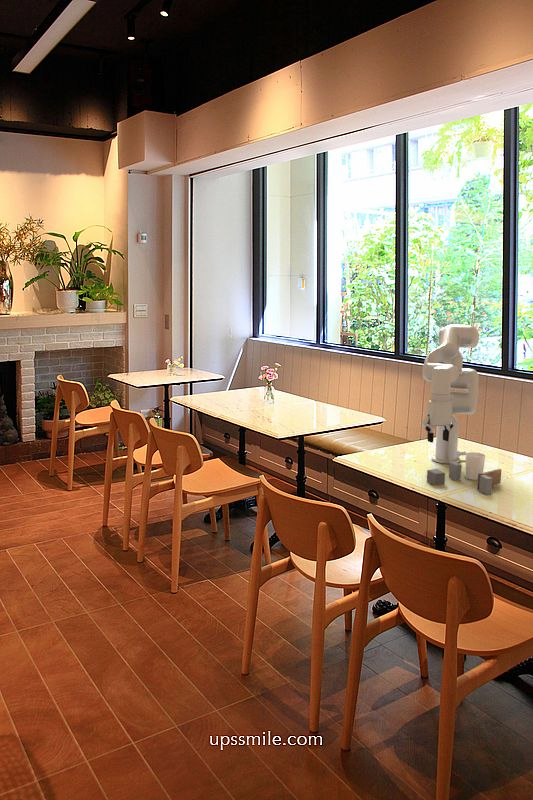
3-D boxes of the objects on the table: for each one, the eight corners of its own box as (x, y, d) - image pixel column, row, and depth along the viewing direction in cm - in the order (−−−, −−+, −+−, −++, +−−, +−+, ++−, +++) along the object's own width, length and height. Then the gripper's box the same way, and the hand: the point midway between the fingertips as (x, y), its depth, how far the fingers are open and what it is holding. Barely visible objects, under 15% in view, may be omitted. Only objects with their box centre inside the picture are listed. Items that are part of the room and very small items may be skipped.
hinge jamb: (483, 490, 296) (485, 474, 295) (491, 494, 292) (492, 478, 290) (478, 491, 295) (479, 475, 294) (486, 494, 291) (487, 478, 290)
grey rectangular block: (436, 480, 309) (436, 468, 308) (444, 484, 304) (445, 472, 303) (426, 481, 308) (427, 469, 307) (434, 485, 302) (435, 473, 301)
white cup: (461, 475, 317) (463, 452, 315) (479, 474, 318) (481, 452, 316) (468, 480, 309) (469, 457, 307) (486, 480, 310) (488, 457, 308)
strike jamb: (453, 476, 315) (454, 461, 313) (460, 480, 310) (461, 464, 309) (448, 477, 314) (449, 462, 312) (455, 480, 309) (456, 465, 308)
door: (500, 484, 304) (501, 469, 303) (479, 490, 296) (480, 474, 294) (497, 483, 305) (498, 468, 304) (476, 489, 297) (477, 473, 296)
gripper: (453, 394, 305) (450, 437, 309) (416, 397, 299) (414, 440, 303) (464, 398, 299) (461, 441, 302) (427, 400, 292) (424, 445, 296)
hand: (437, 440), depth 302 cm, fingers open, 6 cm apart
